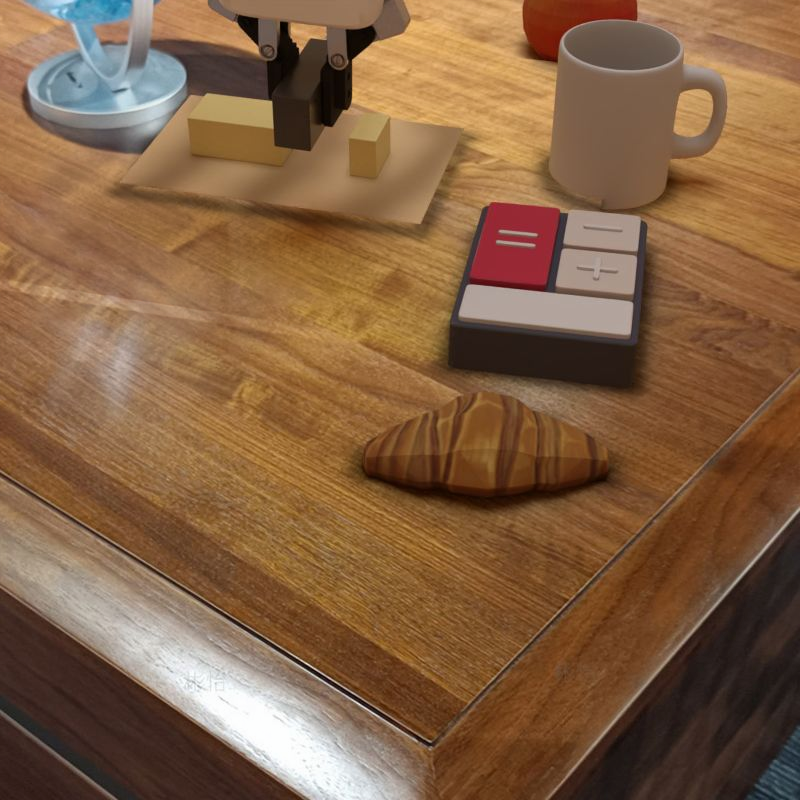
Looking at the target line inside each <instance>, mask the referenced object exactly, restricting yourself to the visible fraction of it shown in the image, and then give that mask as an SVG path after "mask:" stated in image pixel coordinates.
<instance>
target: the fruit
mask: <svg viewBox="0 0 800 800" xmlns="http://www.w3.org/2000/svg"><path fill="white" fill-rule="evenodd" d="M521 13H522V14H521V15H522V29H523V32H524V34H525V37H526V40H527V42H528V44H529V45H530V46H531V47H532V49H533V50H534V52H535V53H536V54H537V55H538V57H539V58H540V59H542V60H544V62H553V63H558V54H559V45H560V41H561V38H562V37H563V35H564V34H565V33H566V32H567V31H568V30H570V29H572V28H573V27H576V26H578V25H581V24H584V23H588V22H593V21H599V20H630V21H637V22H638V18H639V15H638V13H639V12H638V0H523V1H522V10H521Z"/></svg>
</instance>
